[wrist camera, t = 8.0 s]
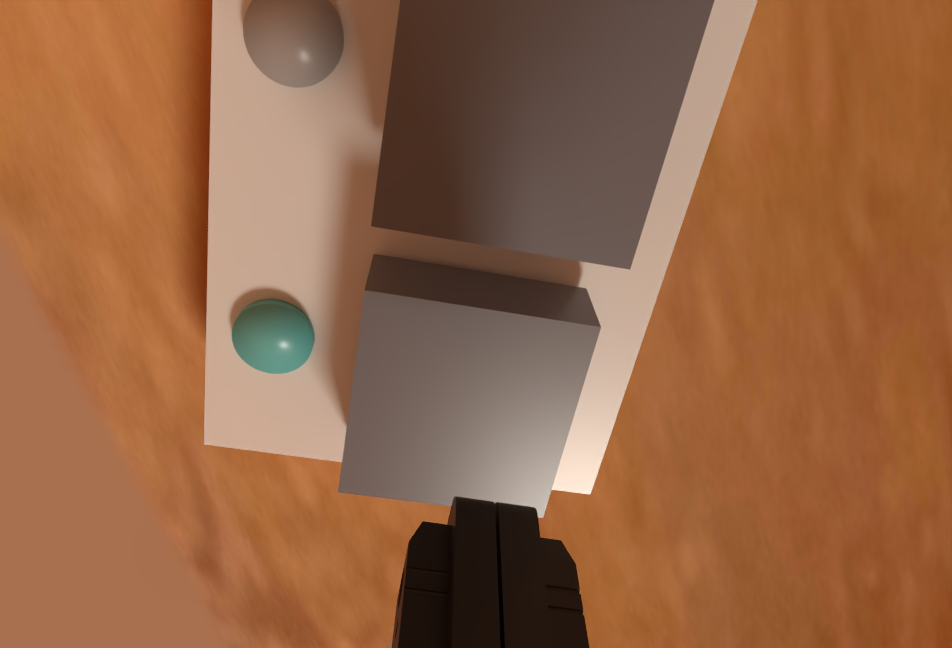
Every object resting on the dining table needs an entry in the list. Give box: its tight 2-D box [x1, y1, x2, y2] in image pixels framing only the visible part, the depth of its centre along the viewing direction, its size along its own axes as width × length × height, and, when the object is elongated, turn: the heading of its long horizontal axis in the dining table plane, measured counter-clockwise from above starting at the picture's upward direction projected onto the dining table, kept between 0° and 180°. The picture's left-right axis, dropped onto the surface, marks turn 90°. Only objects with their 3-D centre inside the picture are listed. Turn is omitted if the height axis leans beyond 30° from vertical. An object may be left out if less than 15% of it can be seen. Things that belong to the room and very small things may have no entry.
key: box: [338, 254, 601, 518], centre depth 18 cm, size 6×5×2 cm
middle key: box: [371, 0, 715, 270], centre depth 14 cm, size 6×5×2 cm
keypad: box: [204, 0, 758, 494], centre depth 17 cm, size 22×11×3 cm, turn 169°
